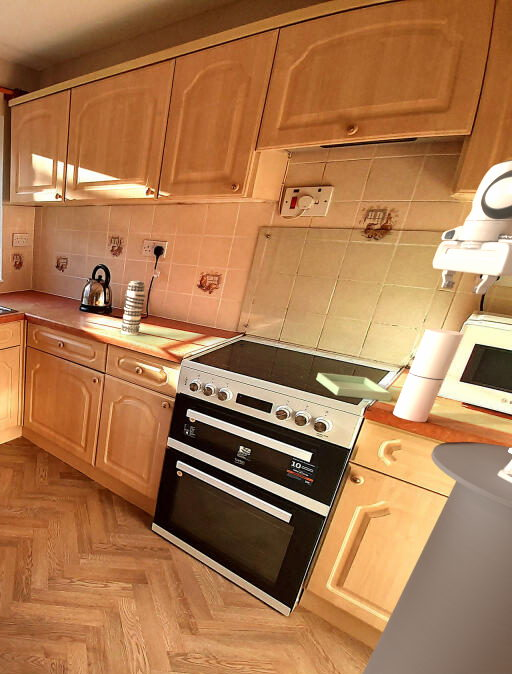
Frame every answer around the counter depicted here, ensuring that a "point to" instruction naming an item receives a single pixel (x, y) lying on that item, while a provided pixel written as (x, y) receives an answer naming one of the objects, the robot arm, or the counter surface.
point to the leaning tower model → (133, 307)
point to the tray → (353, 386)
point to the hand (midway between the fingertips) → (461, 290)
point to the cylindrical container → (427, 374)
